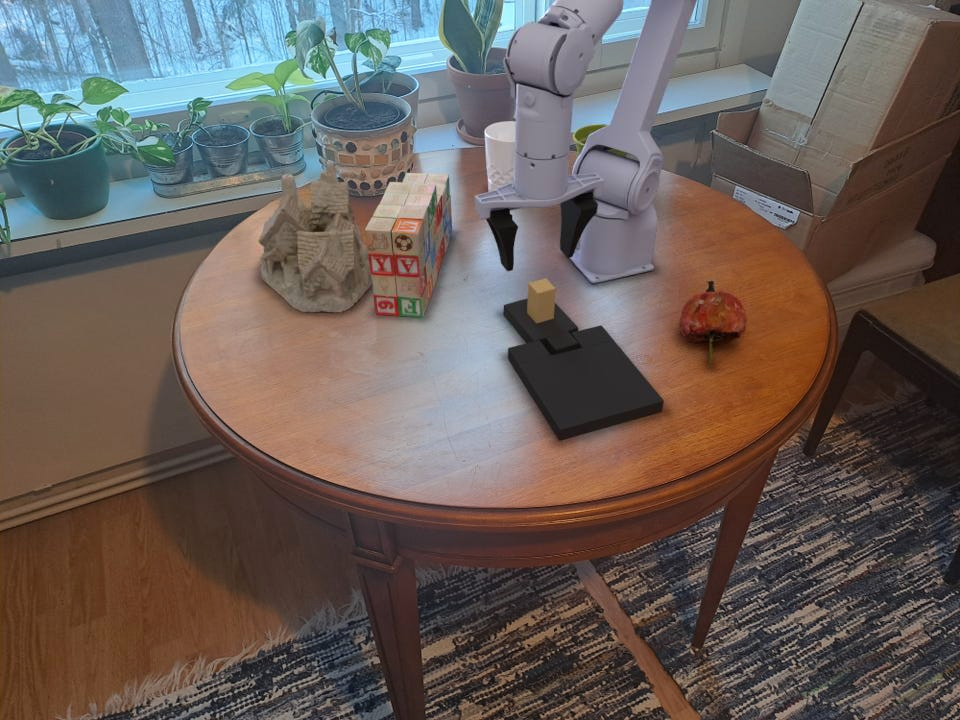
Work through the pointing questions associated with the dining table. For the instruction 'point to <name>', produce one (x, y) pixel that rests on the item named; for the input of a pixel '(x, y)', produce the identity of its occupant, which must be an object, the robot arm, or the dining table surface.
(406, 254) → the stack of blocks
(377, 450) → the dining table surface
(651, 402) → the big pad
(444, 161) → the dining table surface
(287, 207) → the ceramic cottage
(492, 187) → the white cup
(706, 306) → the pomegranate
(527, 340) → the small pad
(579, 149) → the plant pot
